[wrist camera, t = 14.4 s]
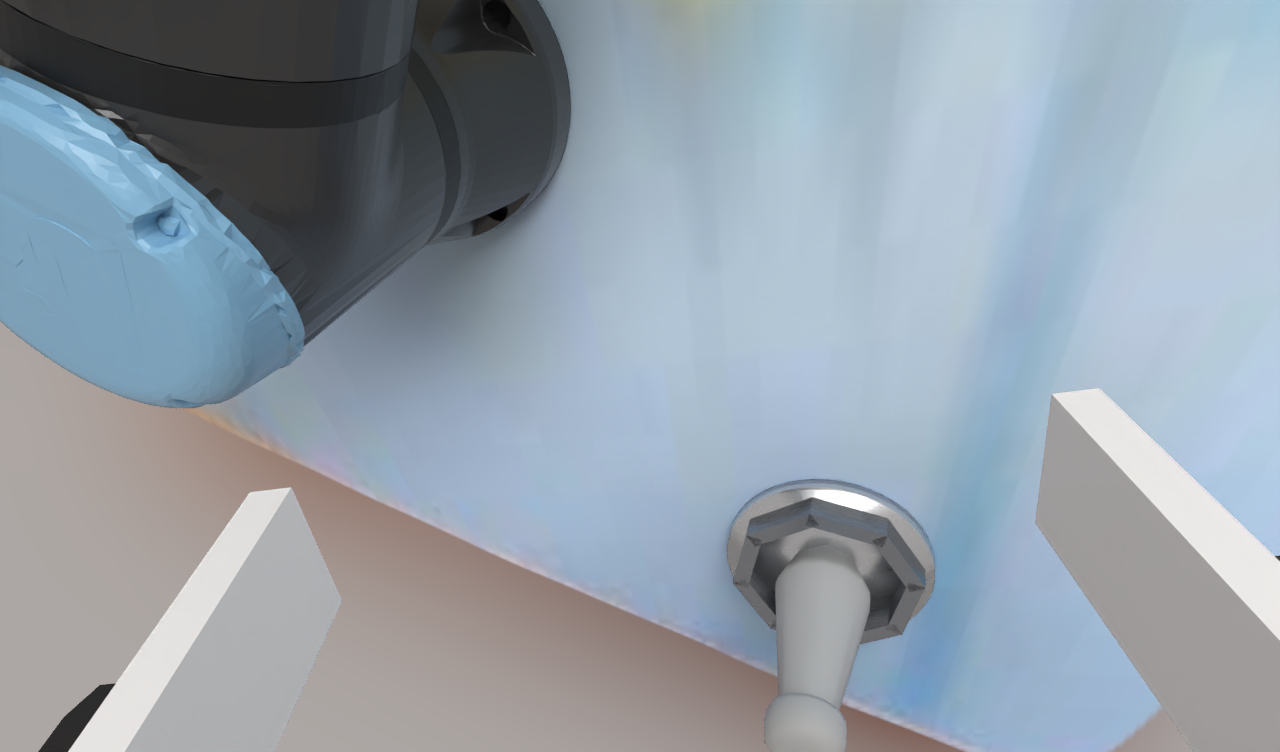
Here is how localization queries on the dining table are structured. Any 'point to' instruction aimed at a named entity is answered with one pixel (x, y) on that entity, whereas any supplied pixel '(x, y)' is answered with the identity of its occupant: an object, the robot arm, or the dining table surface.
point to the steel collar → (846, 522)
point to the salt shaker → (815, 649)
